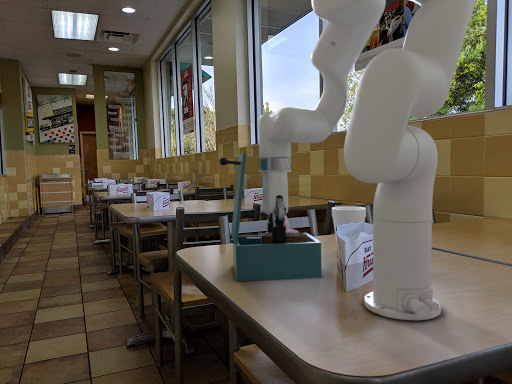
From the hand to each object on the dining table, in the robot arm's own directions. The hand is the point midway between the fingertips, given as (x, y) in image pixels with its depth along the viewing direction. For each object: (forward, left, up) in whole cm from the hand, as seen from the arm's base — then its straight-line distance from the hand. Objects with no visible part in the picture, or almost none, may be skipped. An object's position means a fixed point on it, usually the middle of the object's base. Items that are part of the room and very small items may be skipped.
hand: (276, 240), depth 91 cm
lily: (+24, -6, -8) cm, 26 cm away
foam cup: (+15, -24, -8) cm, 29 cm away
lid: (0, +9, +11) cm, 14 cm away
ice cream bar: (0, 0, -1) cm, 1 cm away
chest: (0, 0, -8) cm, 8 cm away
